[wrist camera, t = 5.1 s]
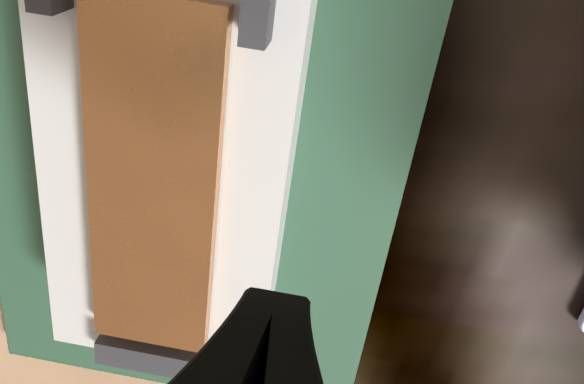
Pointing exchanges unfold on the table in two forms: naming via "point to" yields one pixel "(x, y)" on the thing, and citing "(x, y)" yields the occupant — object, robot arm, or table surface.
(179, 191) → the strip
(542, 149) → the table surface
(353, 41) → the board
